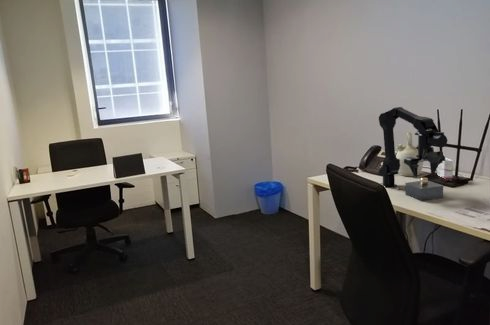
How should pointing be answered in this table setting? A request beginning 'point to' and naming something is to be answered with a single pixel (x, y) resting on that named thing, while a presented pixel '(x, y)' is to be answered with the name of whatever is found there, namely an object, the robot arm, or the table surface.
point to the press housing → (424, 190)
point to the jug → (407, 152)
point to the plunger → (423, 181)
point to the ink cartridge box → (445, 169)
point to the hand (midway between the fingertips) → (424, 176)
